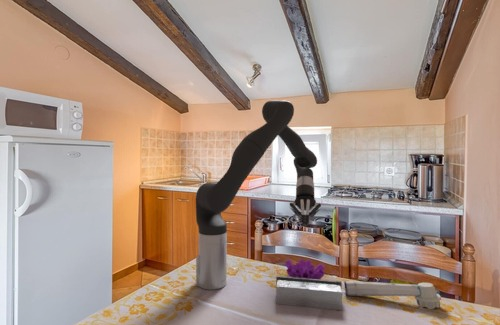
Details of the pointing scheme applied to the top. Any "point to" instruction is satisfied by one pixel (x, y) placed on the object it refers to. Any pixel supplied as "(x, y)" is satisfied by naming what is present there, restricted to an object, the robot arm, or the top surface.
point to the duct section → (309, 292)
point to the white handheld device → (396, 291)
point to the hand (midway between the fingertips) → (305, 225)
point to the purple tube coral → (304, 270)
